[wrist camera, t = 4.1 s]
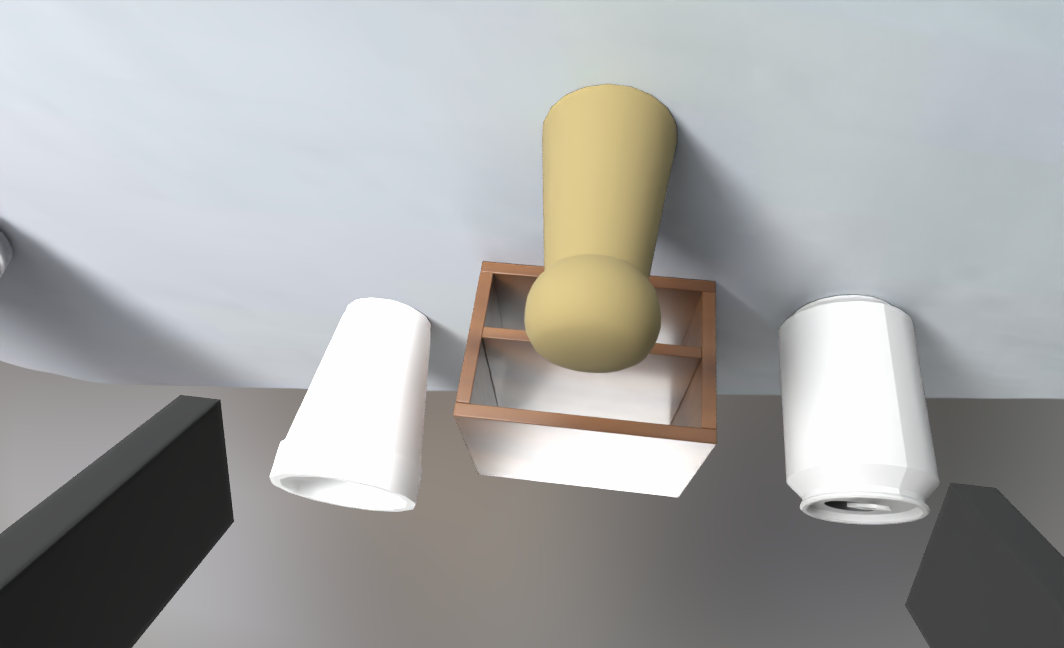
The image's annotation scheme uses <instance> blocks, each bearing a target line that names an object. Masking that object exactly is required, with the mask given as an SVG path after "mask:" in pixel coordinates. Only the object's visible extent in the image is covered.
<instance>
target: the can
mask: <svg viewBox="0 0 1064 648" xmlns="http://www.w3.org/2000/svg"><path fill="white" fill-rule="evenodd" d="M778 339H779V356H780V374H781V392H782V409H783V427H784V444H785V461H786V477H787V478H786V479H787V484H788V485H789V486H790V487H791V488H792V489H793V490H794V491H795V492H796V493H797V494H798V495H799V496H800V497H801V498H802V500H803V501H802V502H801V505H800V509H801V510H802V511H803V512H804V513H806V514H807V515H810V516H812V517H815V518H818V519H823V520H827V521H832V522H841V523H849V524H896V523H904V522H910V521H915V520H918V519H921V518H924V517H925V516H926V515H927V514H928V513H929V512H930V509H929V507H928V505H927V504H925V500H926V499H927V498H928V497H929V496H930V495H931V493H932V492H933V491H934V490H935V489H936V488H937V487H938V485H939V484H940V483H939V478H938V471H937V466H936V460H935V454H934V447H933V442H932V435H931V429H930V424H929V418H928V412H927V406H926V399H925V393H924V387H923V381H922V375H921V369H920V363H919V357H918V351H917V345H916V339H915V333H914V327H913V324H912V321H911V318H910V316H908V315H907V314H906V313H904V312H903V311H902V310H900V309H898V308H896V307H894V306H891V305H890V304H888V303H887V302H886V301H883V300H880V299H877V298H874V297H868V296H860V295H844V296H834V297H829V298H823V299H820V300H817V301H814V302H811V303H808V304H807V305H805V306H803V307H802V308H800V309H798V310H797V311H796V312H795V314H794V315H793V316H791V317H790V318H788V319H787V320H786V321H785V322H784V323H783V325H782V326H781V327H780V328H779V336H778Z"/></svg>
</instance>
